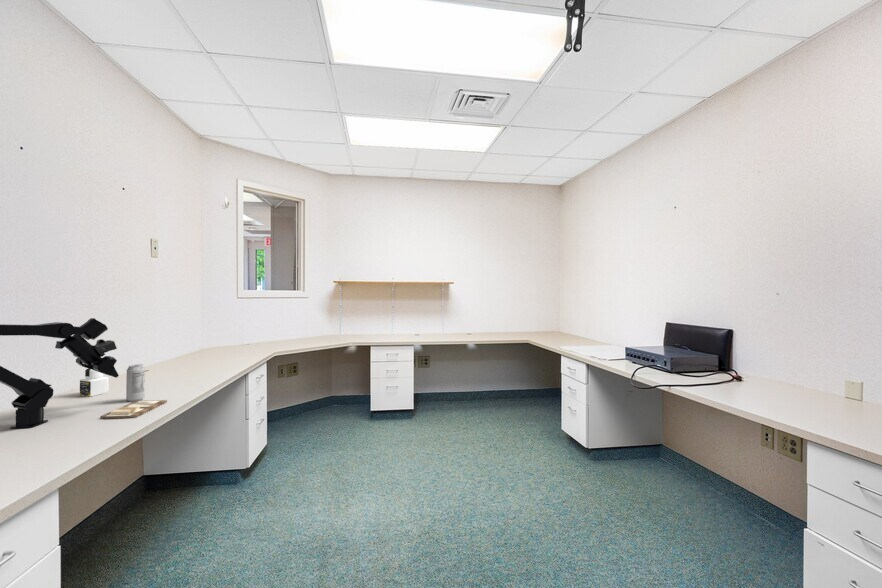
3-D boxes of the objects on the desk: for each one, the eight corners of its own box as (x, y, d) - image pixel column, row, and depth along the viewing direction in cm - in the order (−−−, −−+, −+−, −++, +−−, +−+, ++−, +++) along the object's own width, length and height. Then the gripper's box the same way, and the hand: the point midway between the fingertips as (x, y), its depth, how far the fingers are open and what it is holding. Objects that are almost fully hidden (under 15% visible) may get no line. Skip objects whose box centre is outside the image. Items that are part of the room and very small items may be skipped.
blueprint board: (135, 418, 135) (135, 411, 135) (99, 419, 133) (99, 413, 133) (167, 402, 154) (167, 396, 154) (135, 403, 152) (135, 397, 152)
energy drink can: (140, 397, 161) (140, 363, 161) (147, 399, 158) (147, 364, 158) (123, 400, 155) (123, 365, 155) (130, 403, 152) (130, 367, 152)
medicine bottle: (79, 395, 162) (79, 368, 162) (98, 391, 169) (98, 365, 169) (90, 397, 160) (90, 370, 160) (108, 392, 167) (109, 366, 167)
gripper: (114, 336, 141) (142, 363, 150) (91, 331, 149) (119, 356, 158) (84, 358, 133) (115, 384, 143) (61, 350, 141) (92, 376, 151)
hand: (111, 374), depth 149 cm, fingers open, 9 cm apart
